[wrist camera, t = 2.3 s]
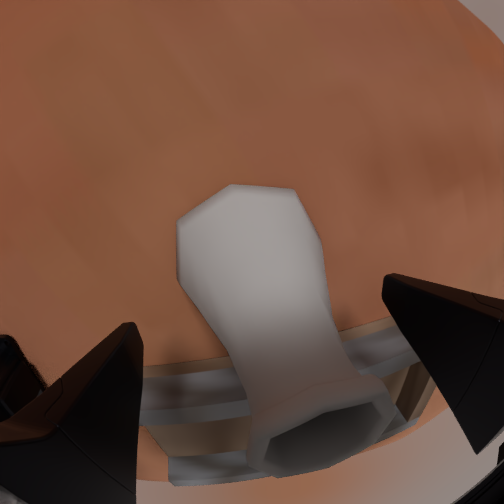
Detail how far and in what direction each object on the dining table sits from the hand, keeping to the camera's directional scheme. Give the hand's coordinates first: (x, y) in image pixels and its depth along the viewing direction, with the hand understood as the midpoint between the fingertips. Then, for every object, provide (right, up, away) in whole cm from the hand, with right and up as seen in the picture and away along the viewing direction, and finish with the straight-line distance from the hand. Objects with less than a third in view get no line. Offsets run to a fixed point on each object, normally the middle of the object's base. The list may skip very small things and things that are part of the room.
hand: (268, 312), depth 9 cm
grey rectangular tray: (+3, -9, +9) cm, 13 cm away
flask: (-1, +2, +5) cm, 5 cm away
